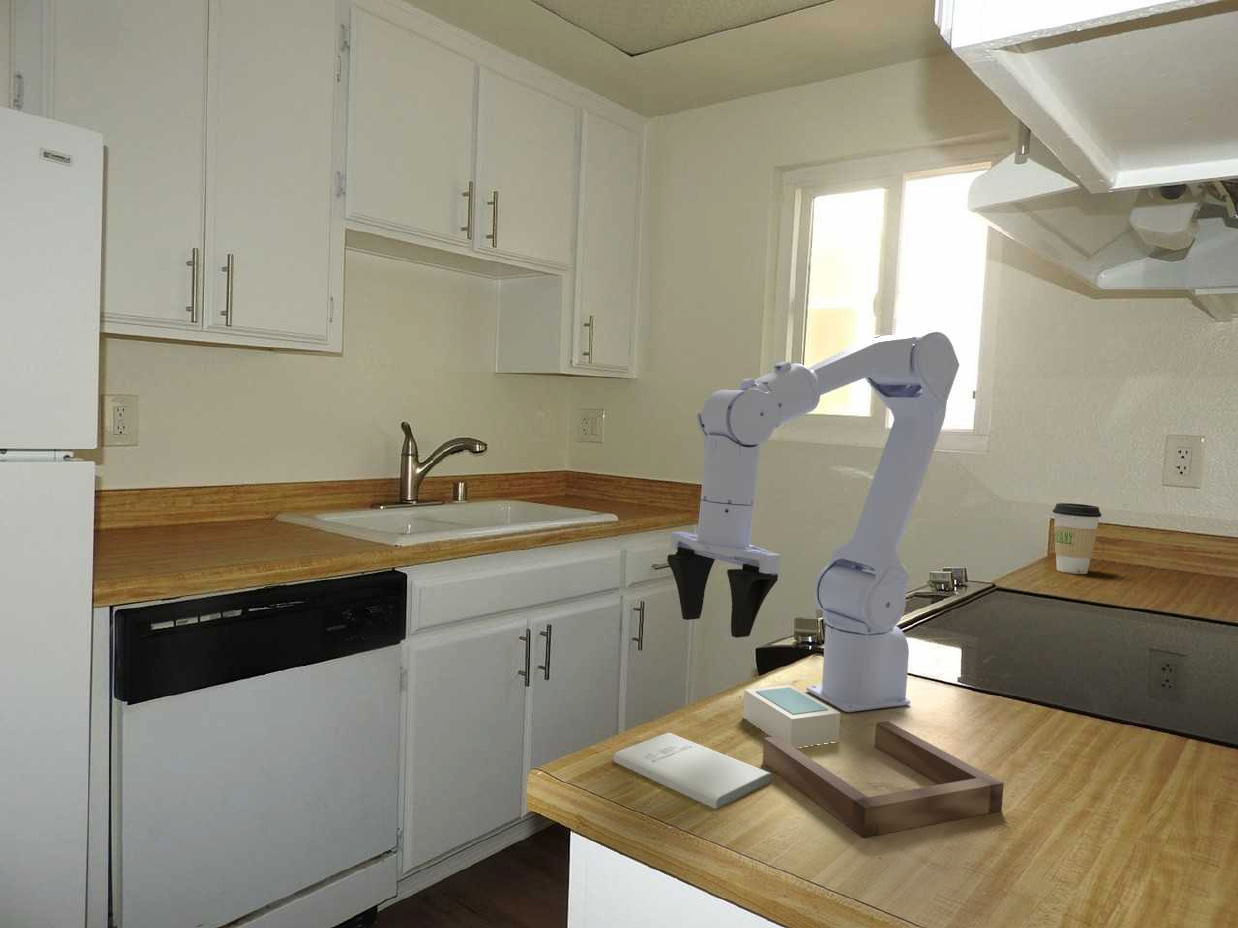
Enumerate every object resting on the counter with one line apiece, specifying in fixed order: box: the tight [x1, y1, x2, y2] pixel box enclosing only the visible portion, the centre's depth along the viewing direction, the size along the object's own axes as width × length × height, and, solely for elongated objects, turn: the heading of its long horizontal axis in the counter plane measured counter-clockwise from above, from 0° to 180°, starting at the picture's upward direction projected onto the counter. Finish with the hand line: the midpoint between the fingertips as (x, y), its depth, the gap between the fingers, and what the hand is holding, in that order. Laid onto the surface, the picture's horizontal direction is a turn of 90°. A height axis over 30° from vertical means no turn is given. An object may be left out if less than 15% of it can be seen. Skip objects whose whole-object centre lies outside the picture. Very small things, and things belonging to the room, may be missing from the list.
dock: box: [762, 721, 1005, 839], centre depth 79 cm, size 15×15×2 cm
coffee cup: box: [1052, 502, 1102, 575], centre depth 195 cm, size 10×10×15 cm
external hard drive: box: [613, 732, 772, 810], centre depth 81 cm, size 2×8×12 cm
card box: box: [742, 684, 841, 749], centre depth 92 cm, size 6×9×4 cm, turn 24°
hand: (715, 627), depth 93 cm, fingers open, 7 cm apart
